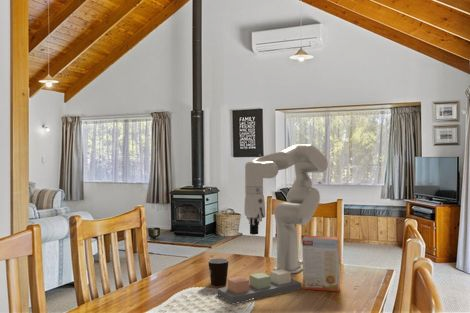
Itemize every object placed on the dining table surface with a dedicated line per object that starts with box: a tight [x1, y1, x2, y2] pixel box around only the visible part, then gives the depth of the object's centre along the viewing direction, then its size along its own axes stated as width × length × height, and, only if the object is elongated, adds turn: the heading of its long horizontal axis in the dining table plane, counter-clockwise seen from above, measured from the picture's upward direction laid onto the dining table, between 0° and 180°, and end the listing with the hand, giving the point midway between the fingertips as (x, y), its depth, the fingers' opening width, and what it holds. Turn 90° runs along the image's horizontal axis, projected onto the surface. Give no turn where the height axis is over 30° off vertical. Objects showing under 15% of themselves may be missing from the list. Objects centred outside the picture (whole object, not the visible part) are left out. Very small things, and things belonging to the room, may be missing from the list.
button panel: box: [216, 278, 302, 304], centre depth 173 cm, size 32×12×2 cm, turn 120°
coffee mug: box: [207, 257, 229, 288], centre depth 185 cm, size 12×9×10 cm
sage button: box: [249, 272, 271, 289], centre depth 173 cm, size 6×6×5 cm
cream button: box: [269, 269, 292, 285], centre depth 178 cm, size 6×6×5 cm
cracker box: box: [301, 235, 340, 293], centre depth 175 cm, size 14×6×21 cm, turn 71°
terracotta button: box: [227, 276, 250, 294], centre depth 167 cm, size 6×6×5 cm
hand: (254, 234), depth 184 cm, fingers closed
